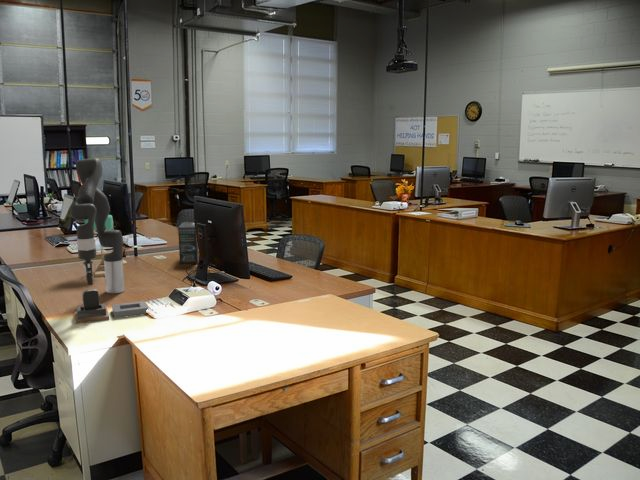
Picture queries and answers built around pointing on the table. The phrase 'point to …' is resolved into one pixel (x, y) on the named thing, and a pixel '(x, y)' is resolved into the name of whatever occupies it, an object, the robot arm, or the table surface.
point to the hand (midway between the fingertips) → (89, 282)
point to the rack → (91, 314)
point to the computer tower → (188, 243)
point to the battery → (90, 299)
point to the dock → (129, 309)
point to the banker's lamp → (100, 267)
